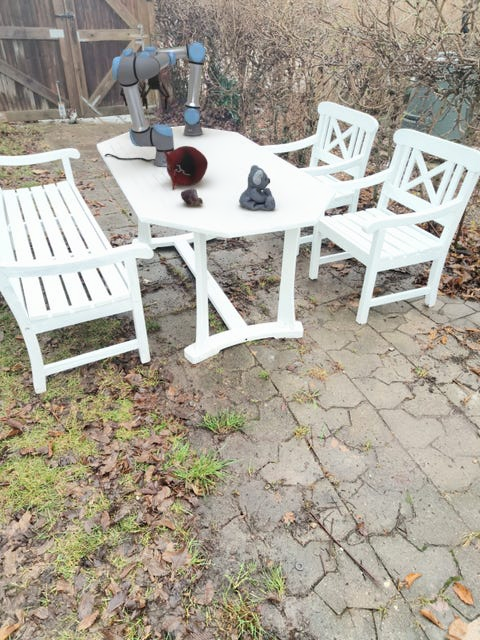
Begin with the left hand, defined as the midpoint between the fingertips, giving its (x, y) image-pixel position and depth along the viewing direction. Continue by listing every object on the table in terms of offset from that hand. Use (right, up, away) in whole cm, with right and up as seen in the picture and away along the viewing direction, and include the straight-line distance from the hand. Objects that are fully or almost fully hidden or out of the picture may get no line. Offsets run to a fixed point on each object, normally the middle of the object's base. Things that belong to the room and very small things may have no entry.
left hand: (156, 109), depth 309 cm
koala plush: (+66, -87, -79) cm, 135 cm away
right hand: (-22, +16, +30) cm, 40 cm away
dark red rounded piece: (+27, -66, -48) cm, 86 cm away
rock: (+32, -86, -77) cm, 120 cm away
